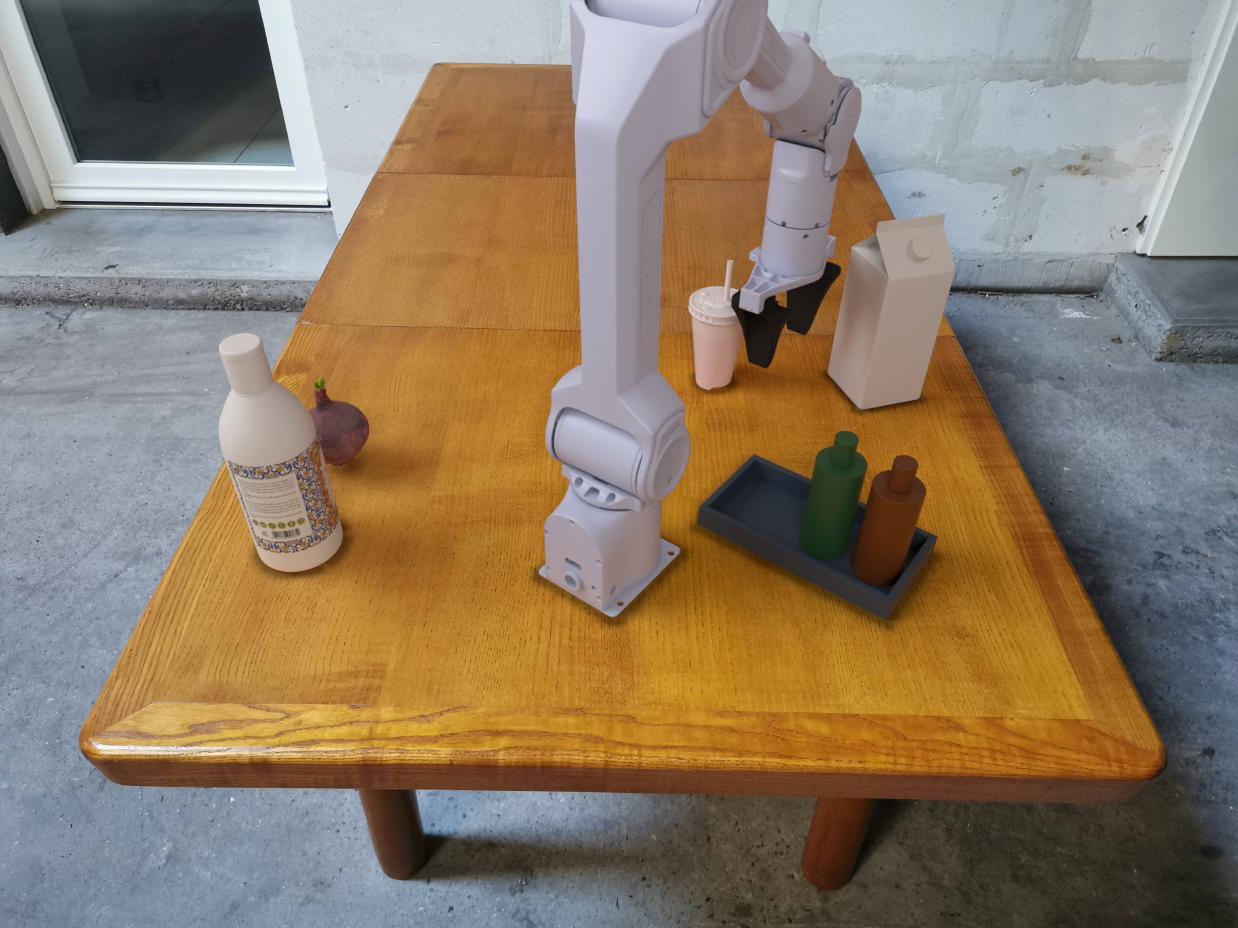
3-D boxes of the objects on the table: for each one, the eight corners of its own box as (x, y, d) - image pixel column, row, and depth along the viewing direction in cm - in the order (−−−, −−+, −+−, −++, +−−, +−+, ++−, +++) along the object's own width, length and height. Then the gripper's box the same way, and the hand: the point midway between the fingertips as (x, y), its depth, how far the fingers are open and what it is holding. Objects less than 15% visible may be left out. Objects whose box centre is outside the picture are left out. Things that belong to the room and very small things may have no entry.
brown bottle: (888, 594, 70) (921, 486, 63) (842, 571, 72) (869, 464, 65) (908, 565, 73) (942, 459, 65) (864, 544, 75) (892, 438, 67)
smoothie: (745, 398, 92) (760, 277, 83) (684, 397, 92) (692, 276, 83) (740, 365, 97) (754, 247, 88) (681, 363, 97) (690, 245, 88)
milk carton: (826, 374, 95) (858, 207, 83) (884, 364, 97) (924, 199, 85) (859, 411, 90) (898, 239, 78) (919, 400, 92) (967, 229, 80)
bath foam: (354, 556, 73) (302, 353, 61) (269, 586, 71) (196, 380, 58) (332, 507, 78) (279, 309, 65) (251, 533, 75) (179, 332, 63)
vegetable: (295, 480, 81) (269, 390, 75) (327, 440, 86) (305, 352, 79) (356, 490, 80) (335, 400, 74) (385, 449, 85) (367, 361, 78)
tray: (885, 624, 69) (892, 602, 67) (696, 527, 77) (698, 506, 75) (931, 557, 74) (938, 536, 73) (750, 474, 82) (753, 453, 81)
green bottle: (834, 567, 72) (859, 460, 65) (791, 546, 74) (811, 440, 67) (855, 540, 75) (882, 434, 68) (813, 520, 77) (835, 415, 70)
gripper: (797, 180, 84) (779, 305, 93) (715, 231, 75) (704, 365, 84) (865, 199, 81) (840, 327, 90) (788, 255, 72) (768, 391, 81)
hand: (778, 347), depth 87 cm, fingers open, 7 cm apart
